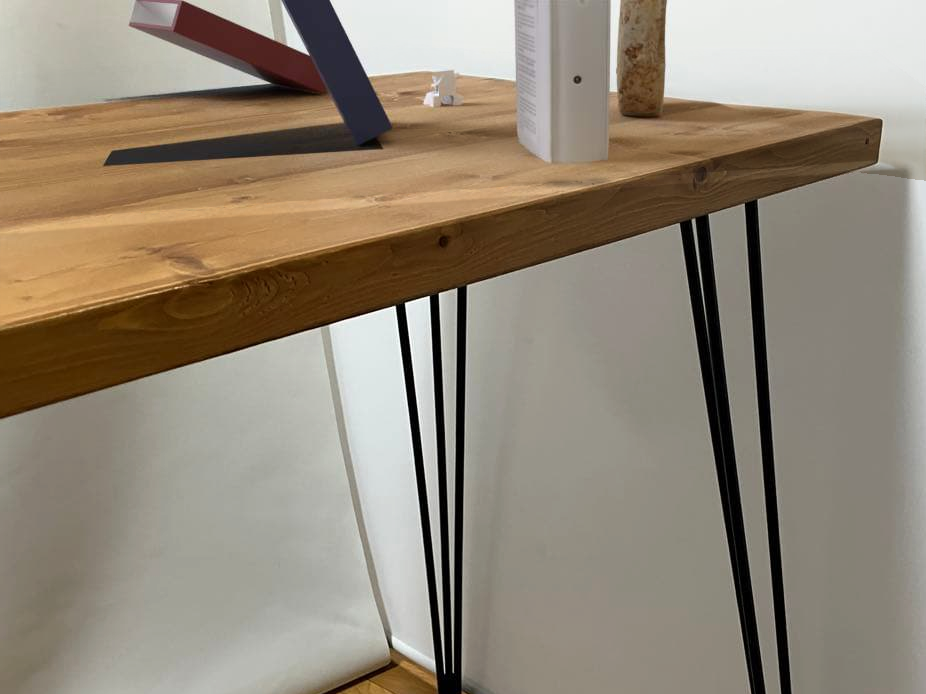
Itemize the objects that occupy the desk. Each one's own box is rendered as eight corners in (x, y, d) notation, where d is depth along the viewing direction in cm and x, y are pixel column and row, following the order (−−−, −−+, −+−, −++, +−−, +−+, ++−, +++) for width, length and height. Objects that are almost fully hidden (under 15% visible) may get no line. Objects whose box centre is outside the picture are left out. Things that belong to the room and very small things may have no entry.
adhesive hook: (437, 114, 88) (435, 72, 86) (419, 110, 89) (417, 70, 88) (469, 110, 89) (467, 69, 88) (450, 106, 91) (448, 67, 90)
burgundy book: (173, 31, 86) (181, -1, 86) (127, 25, 94) (135, -4, 93) (325, 94, 96) (334, 66, 96) (273, 84, 103) (281, 58, 103)
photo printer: (617, 169, 65) (620, -58, 61) (547, 174, 64) (543, -57, 60) (573, 141, 75) (572, -58, 70) (510, 145, 74) (505, -57, 69)
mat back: (157, 122, 86) (156, 115, 86) (101, 105, 96) (100, 99, 95) (350, 100, 96) (349, 94, 96) (282, 87, 105) (281, 82, 105)
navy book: (247, -71, 65) (285, -90, 65) (245, -69, 74) (279, -86, 74) (358, 145, 71) (393, 128, 72) (344, 123, 80) (375, 107, 81)
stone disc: (623, 108, 89) (624, -26, 85) (669, 108, 88) (673, -27, 84) (610, 129, 79) (611, -21, 75) (663, 129, 79) (666, -22, 75)
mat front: (103, 174, 67) (101, 166, 67) (122, 140, 78) (121, 133, 78) (385, 156, 71) (384, 149, 70) (363, 126, 82) (363, 119, 82)
